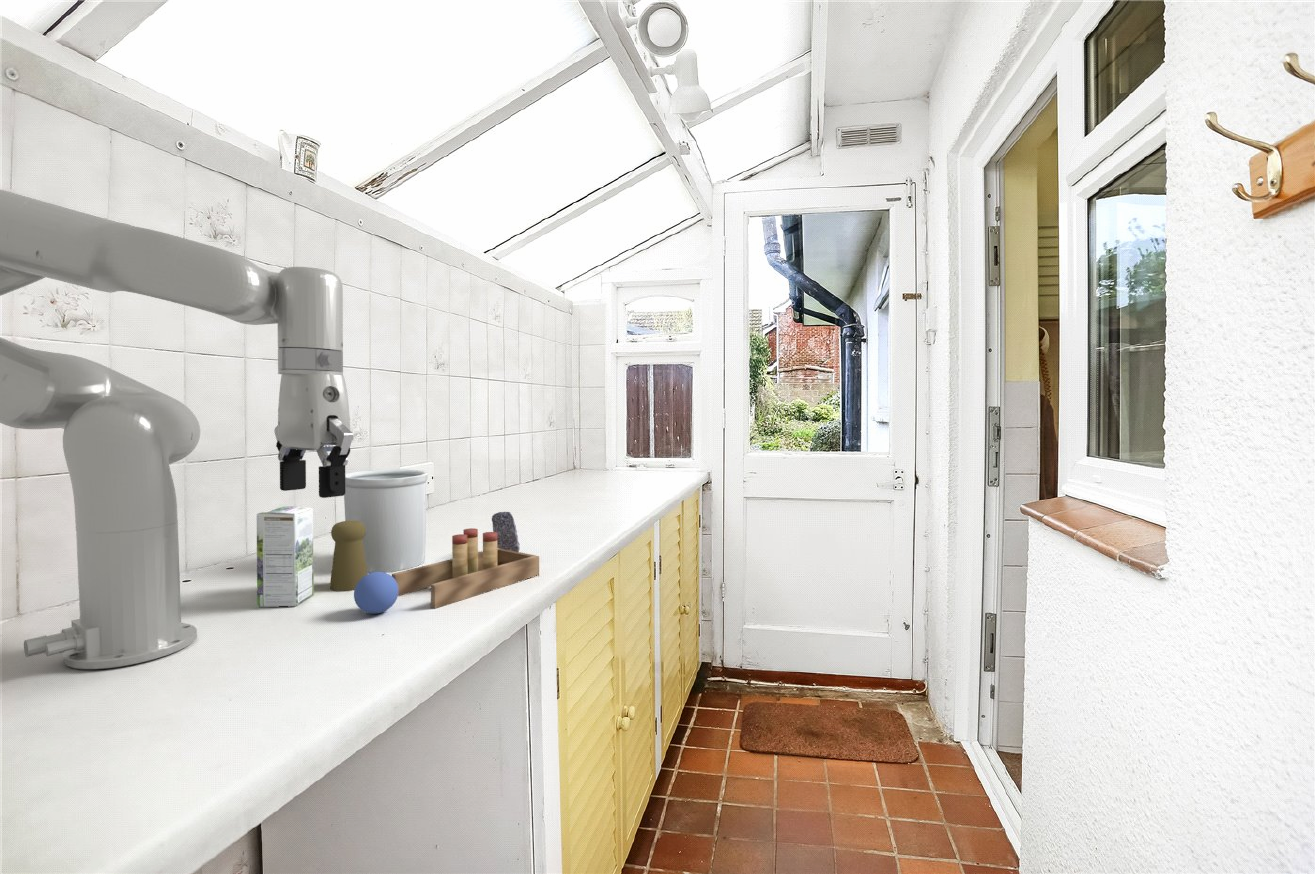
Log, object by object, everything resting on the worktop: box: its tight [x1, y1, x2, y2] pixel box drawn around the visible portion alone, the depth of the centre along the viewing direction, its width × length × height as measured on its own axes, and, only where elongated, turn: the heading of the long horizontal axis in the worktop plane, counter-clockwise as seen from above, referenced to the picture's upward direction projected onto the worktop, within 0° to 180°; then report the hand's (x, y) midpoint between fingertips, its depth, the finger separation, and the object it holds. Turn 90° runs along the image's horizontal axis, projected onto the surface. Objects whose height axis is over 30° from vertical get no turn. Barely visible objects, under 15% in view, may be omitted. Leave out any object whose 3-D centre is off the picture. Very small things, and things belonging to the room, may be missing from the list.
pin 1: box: [462, 527, 479, 574], centre depth 108 cm, size 2×2×9 cm
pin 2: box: [482, 531, 497, 570], centre depth 105 cm, size 2×2×9 cm
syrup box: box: [256, 505, 314, 608], centre depth 95 cm, size 6×6×14 cm
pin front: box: [451, 533, 468, 578], centre depth 103 cm, size 2×2×9 cm
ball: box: [353, 572, 399, 615], centre depth 91 cm, size 6×6×6 cm
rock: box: [491, 511, 521, 552], centre depth 123 cm, size 12×5×10 cm, turn 20°
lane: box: [391, 548, 540, 609], centre depth 105 cm, size 22×11×4 cm, turn 146°
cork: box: [329, 520, 369, 592], centre depth 103 cm, size 6×6×11 cm
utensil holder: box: [343, 468, 428, 574], centre depth 118 cm, size 15×15×18 cm
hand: (312, 492), depth 82 cm, fingers open, 9 cm apart
